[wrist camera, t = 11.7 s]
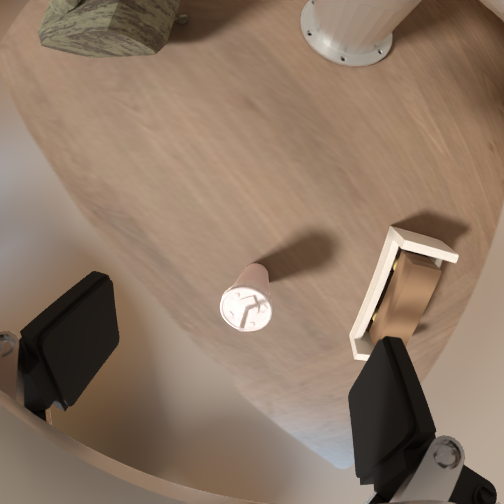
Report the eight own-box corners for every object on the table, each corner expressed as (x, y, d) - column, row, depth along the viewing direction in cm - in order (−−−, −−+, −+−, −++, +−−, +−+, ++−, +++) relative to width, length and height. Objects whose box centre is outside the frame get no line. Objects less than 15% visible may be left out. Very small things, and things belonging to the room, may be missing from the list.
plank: (401, 250, 35) (413, 263, 31) (429, 257, 35) (442, 270, 31) (368, 331, 41) (374, 349, 37) (395, 334, 40) (402, 352, 36)
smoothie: (285, 266, 41) (280, 323, 28) (266, 299, 43) (254, 362, 30) (244, 247, 41) (221, 298, 28) (228, 282, 43) (202, 340, 30)
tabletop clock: (200, 11, 28) (106, -82, 5) (183, 63, 32) (58, 0, 9) (119, 16, 29) (8, -29, 6) (104, 64, 32) (-23, 42, 9)
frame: (390, 225, 36) (404, 239, 31) (440, 240, 36) (459, 255, 30) (349, 335, 44) (354, 359, 38) (396, 341, 43) (405, 364, 38)
